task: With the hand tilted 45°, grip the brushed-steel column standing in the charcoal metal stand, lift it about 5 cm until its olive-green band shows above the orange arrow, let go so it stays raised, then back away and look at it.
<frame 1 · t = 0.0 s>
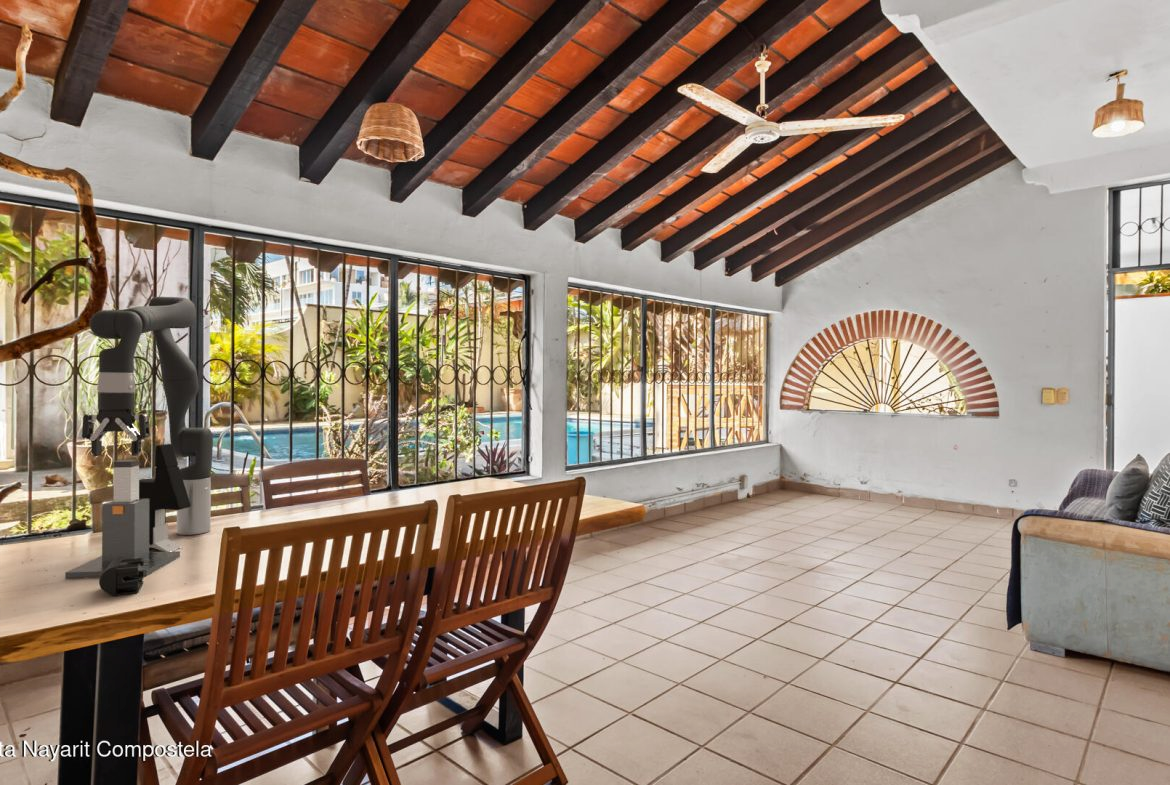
hand: (116, 455, 162), 29 cm above the table, tool pointing down, fingers open, 8 cm apart
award: (160, 550, 185), on the table
stand: (126, 567, 168), on the table
column: (126, 509, 167), point 15 cm above the table, slide at 0.0 cm
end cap: (122, 591, 149), on the table
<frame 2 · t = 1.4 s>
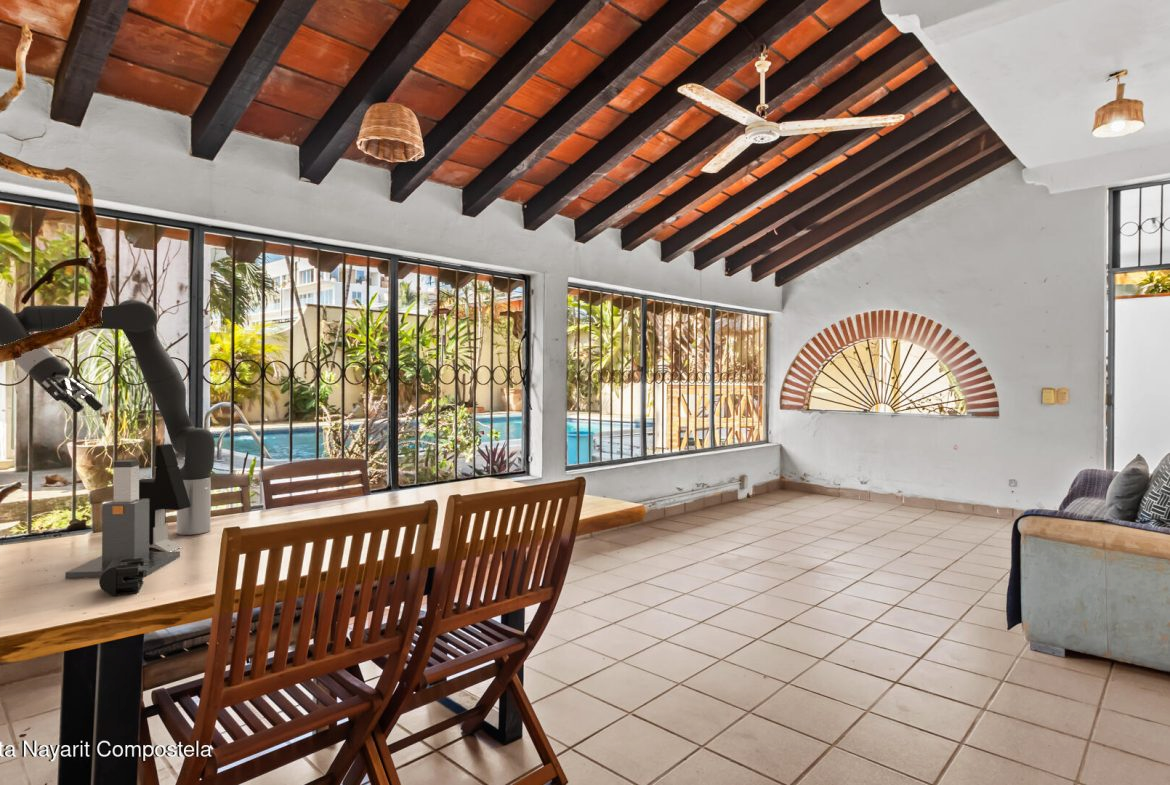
hand: (90, 409, 173), 40 cm above the table, tool tilted 45°, fingers open, 8 cm apart
nothing on the table moved.
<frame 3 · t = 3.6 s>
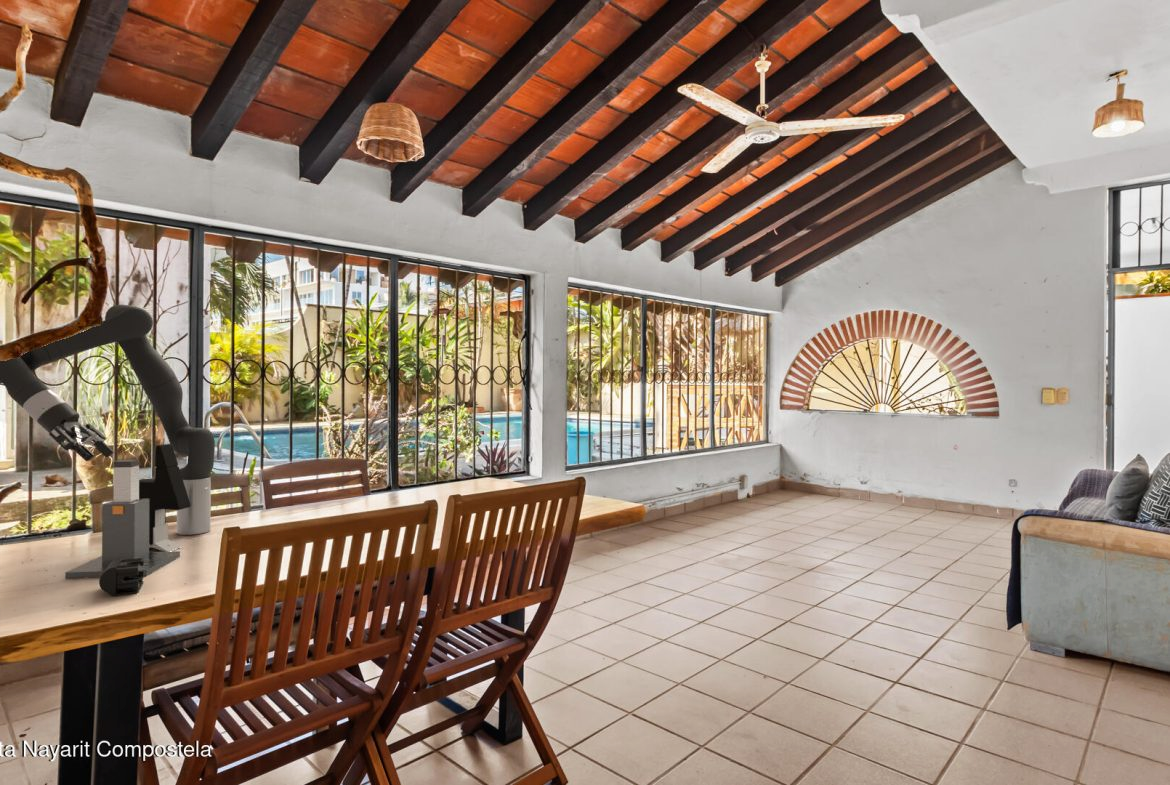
hand: (101, 456, 166), 29 cm above the table, tool tilted 45°, fingers open, 8 cm apart
nothing on the table moved.
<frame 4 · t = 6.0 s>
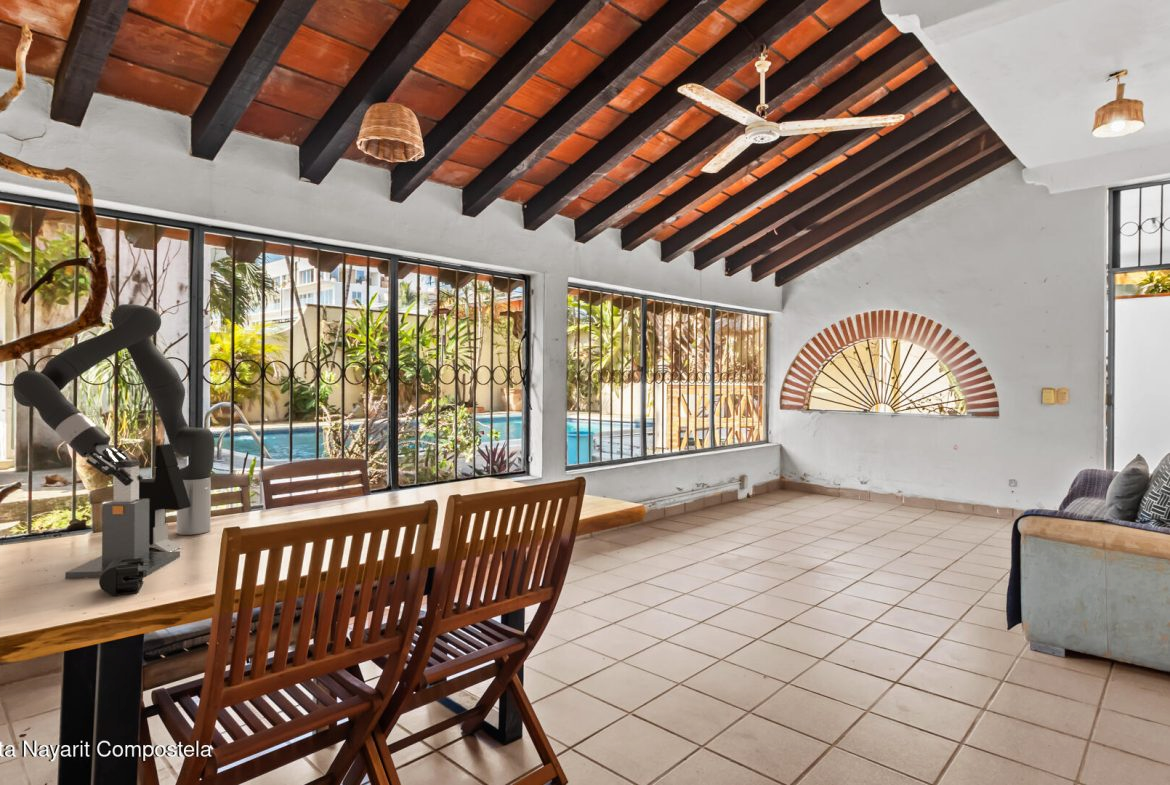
hand: (134, 481, 168), 22 cm above the table, tool tilted 45°, fingers closed on column, 4 cm apart
column: (126, 509, 167), point 15 cm above the table, slide at 0.0 cm, touching gripper
everything else where it was.
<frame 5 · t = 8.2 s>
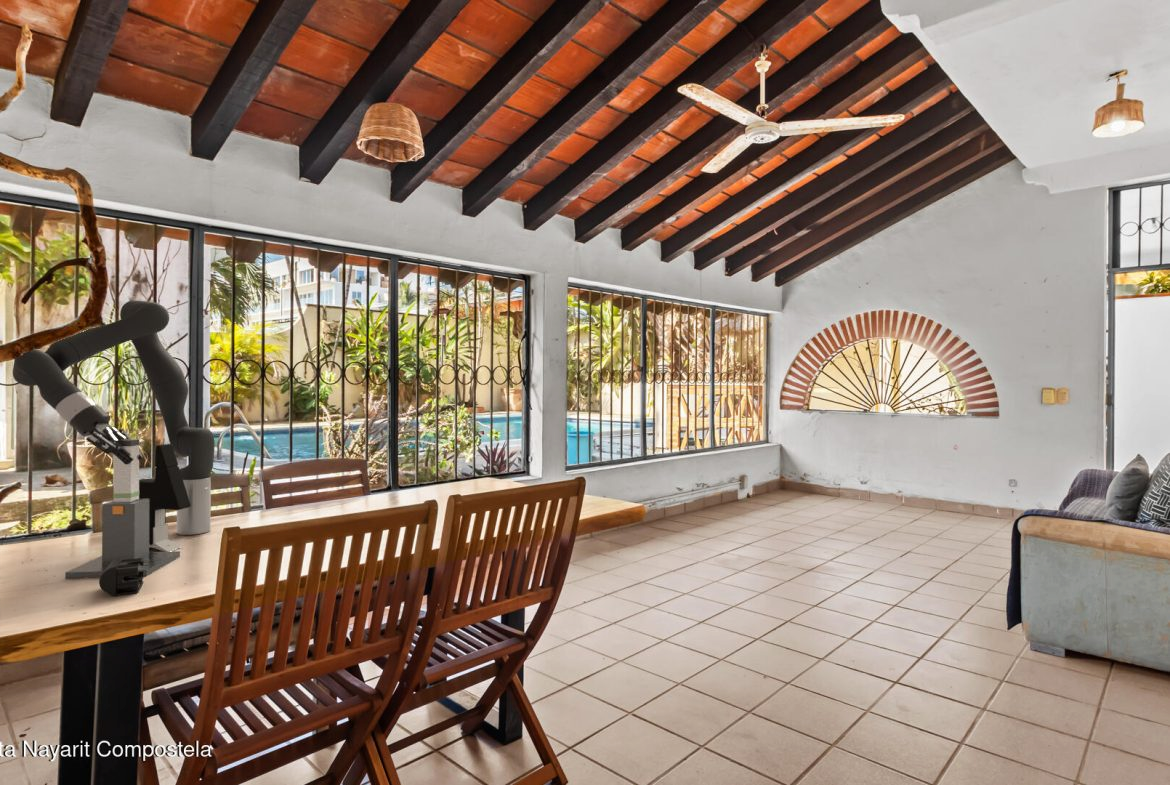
hand: (134, 460, 168), 27 cm above the table, tool tilted 45°, fingers closed on column, 4 cm apart
column: (126, 488, 167), point 20 cm above the table, slide at 5.4 cm, touching gripper
everything else where it was.
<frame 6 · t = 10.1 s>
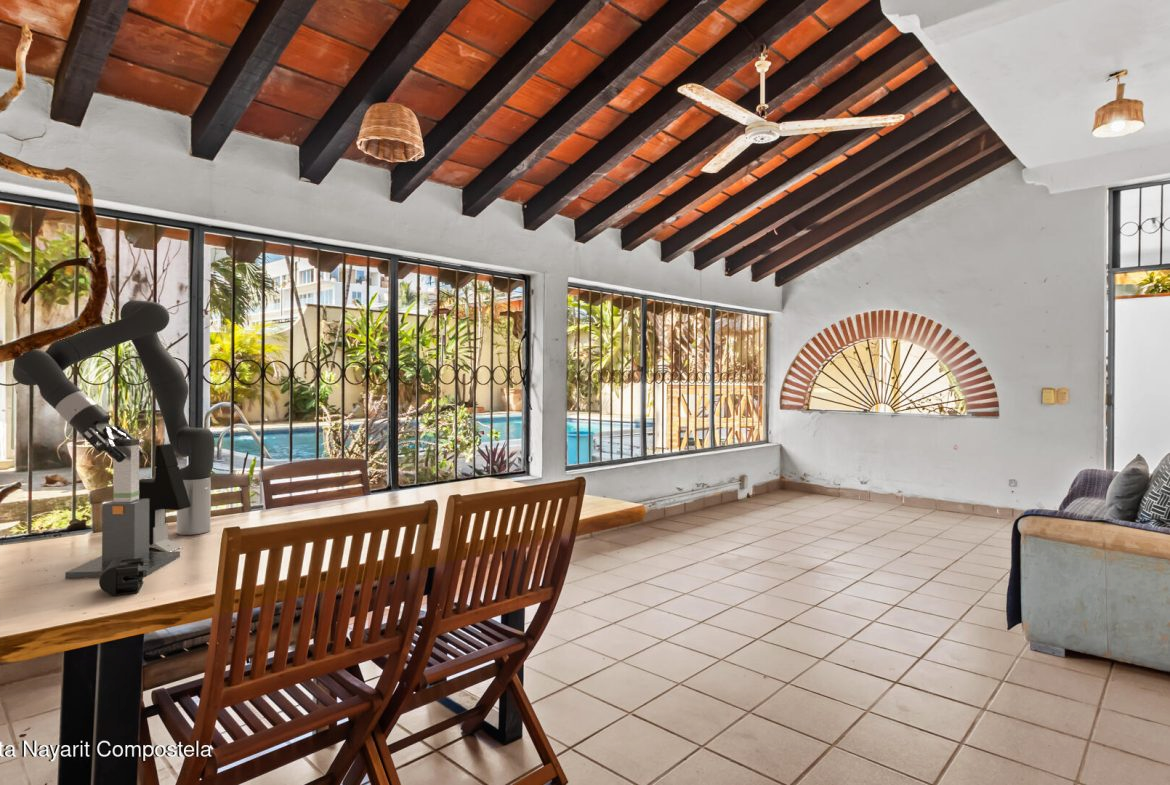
hand: (132, 458, 167), 28 cm above the table, tool tilted 45°, fingers open, 8 cm apart
column: (126, 487, 167), point 20 cm above the table, slide at 5.4 cm
everything else where it was.
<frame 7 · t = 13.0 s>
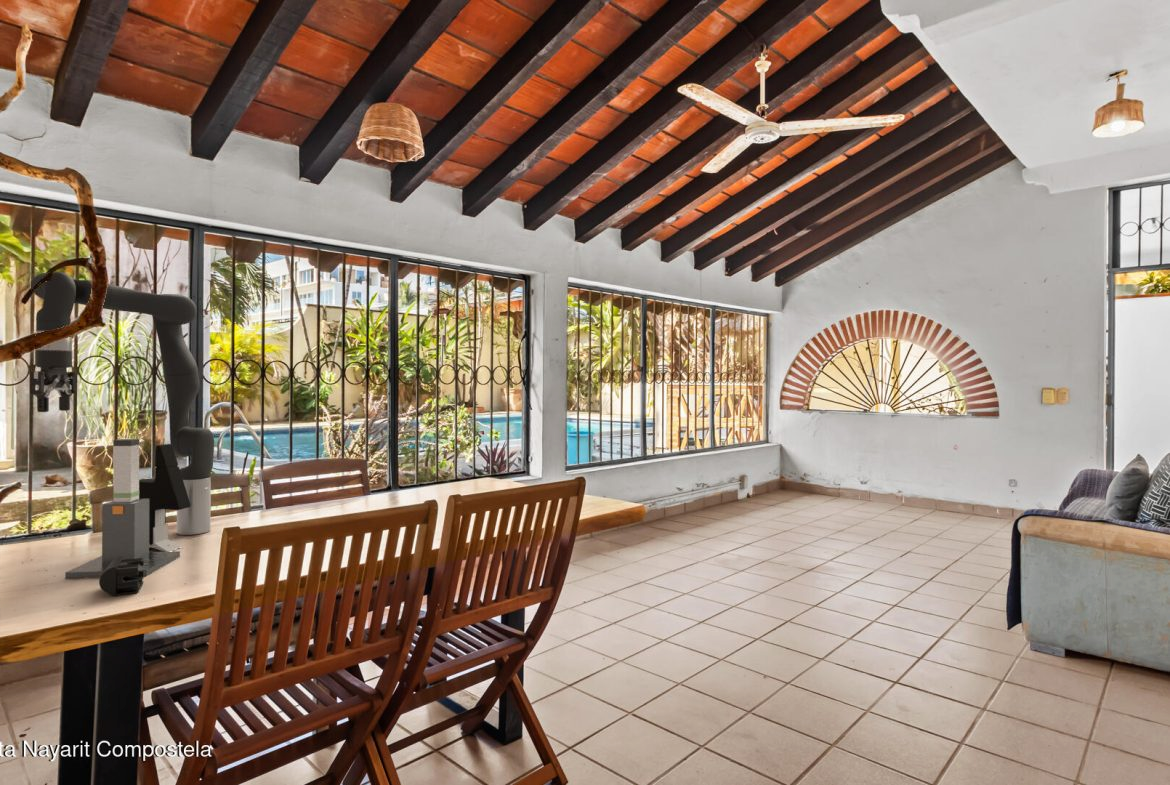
hand: (54, 411, 170), 40 cm above the table, tool pointing down, fingers open, 8 cm apart
nothing on the table moved.
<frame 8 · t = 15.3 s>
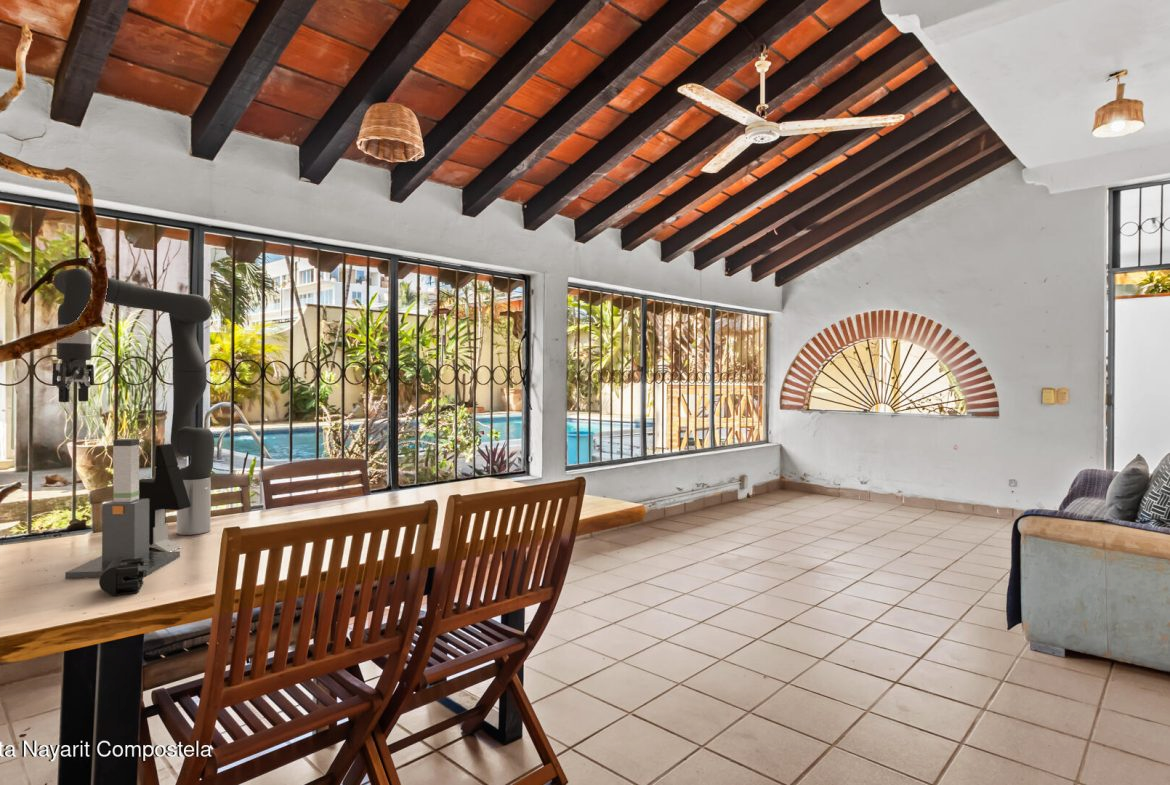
hand: (74, 401, 178), 42 cm above the table, tool pointing down, fingers open, 8 cm apart
nothing on the table moved.
at the end: column slide at 5.4 cm; the gripper is holding nothing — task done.
